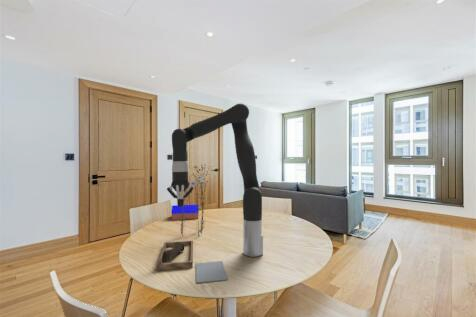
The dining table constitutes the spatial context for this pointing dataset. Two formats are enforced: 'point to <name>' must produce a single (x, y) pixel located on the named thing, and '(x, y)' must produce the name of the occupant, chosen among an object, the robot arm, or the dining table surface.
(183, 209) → the wildflower
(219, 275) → the mat
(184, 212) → the house
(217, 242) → the dining table surface
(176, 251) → the hand tool
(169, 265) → the wooden frame
